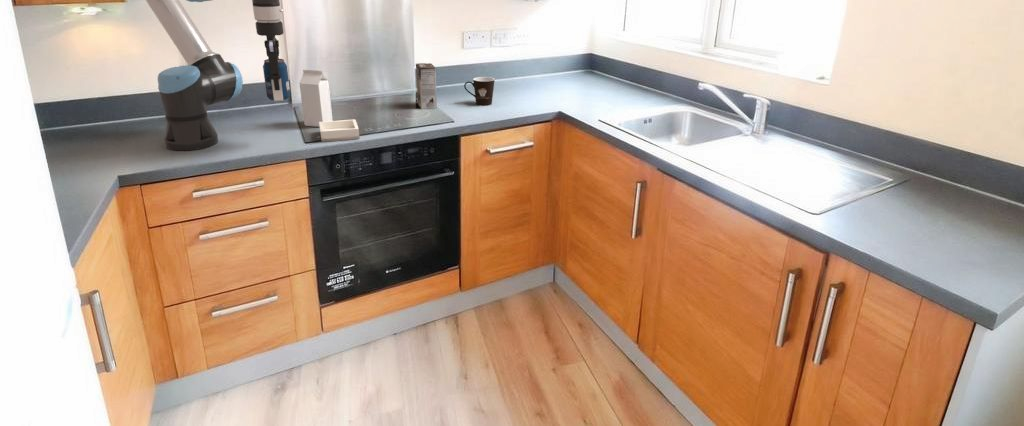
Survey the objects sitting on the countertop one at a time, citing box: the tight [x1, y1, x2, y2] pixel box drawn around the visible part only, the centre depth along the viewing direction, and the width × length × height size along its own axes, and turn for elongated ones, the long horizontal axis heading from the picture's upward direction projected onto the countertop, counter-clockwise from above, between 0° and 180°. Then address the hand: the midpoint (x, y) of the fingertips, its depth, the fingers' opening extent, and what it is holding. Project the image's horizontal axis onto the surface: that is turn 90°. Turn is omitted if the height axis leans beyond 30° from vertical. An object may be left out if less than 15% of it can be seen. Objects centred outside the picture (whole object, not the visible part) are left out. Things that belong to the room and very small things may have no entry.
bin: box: [319, 119, 360, 143], centre depth 201 cm, size 12×12×4 cm
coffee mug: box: [463, 76, 495, 107], centre depth 244 cm, size 12×9×10 cm
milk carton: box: [298, 69, 334, 128], centre depth 210 cm, size 7×7×19 cm
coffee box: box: [415, 62, 438, 110], centre depth 237 cm, size 9×6×16 cm
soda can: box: [262, 58, 291, 102], centre depth 186 cm, size 7×7×12 cm
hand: (279, 97), depth 189 cm, fingers closed on soda can, 7 cm apart
